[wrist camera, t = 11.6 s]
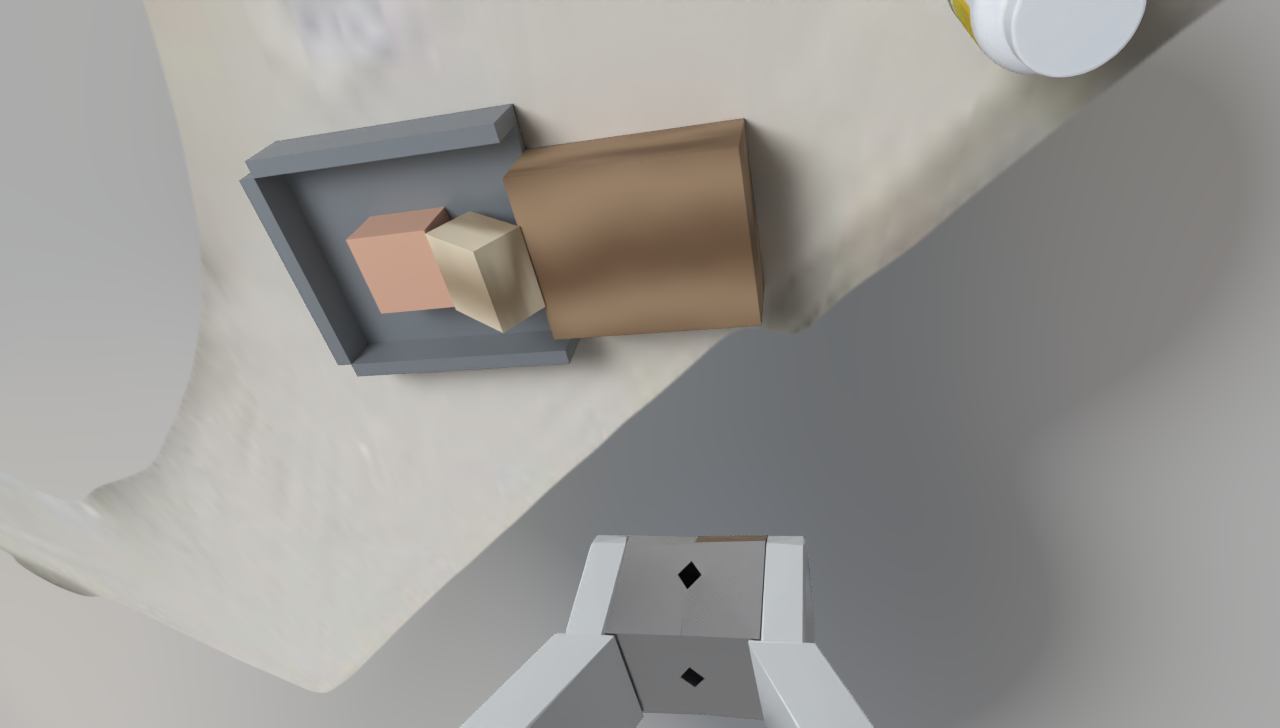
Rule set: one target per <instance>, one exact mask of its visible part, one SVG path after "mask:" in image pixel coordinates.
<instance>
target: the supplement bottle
mask: <svg viewBox="0 0 1280 728" xmlns="http://www.w3.org/2000/svg"><path fill="white" fill-rule="evenodd" d="M948 2H949V5H950V7H951V9H952V11H953V12H954V14H955V15H956V17H957V18H958V19H959V21H960V22H961V23H962V24H963V26H964V27H965V29H966V30H967V31H968V33H969V34H970V35H971V37H972V38H973V39H974V41H975V42H976V43H977V45H978V46H979V47H980V49H981V50H982V51H983V52H984V53H985V54H986V55H987V56H988V57H989V58H990V59H991V60H992V61H993V62H995V63H996V64H998V65H999V66H1001V67H1003V68H1005V69H1007V70H1010V71H1013V72H1016V73H1021V74H1041V75H1044V76H1048V77H1055V78H1064V77H1073V76H1077V75H1081V74H1084V73H1087V72H1089V71H1092V70H1094V69H1096V68H1098V67H1100V66H1101V65H1103V64H1105V63H1106V62H1107V61H1109V60H1110V59H1111V58H1113V57H1114V56H1115V55H1117V54H1118V53H1119V52H1120V51H1121V50H1122V49H1123V48H1124V47H1125V45H1126V44H1127V43H1128V42H1129V41H1130V39H1131V38H1132V36H1133V35H1134V33H1135V32H1136V30H1137V28H1138V26H1139V24H1140V22H1141V20H1142V17H1143V15H1144V11H1145V8H1146V2H1147V0H948Z"/></svg>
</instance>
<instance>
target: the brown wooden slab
mask: <svg viewBox="0 0 1280 728" xmlns="http://www.w3.org/2000/svg"><path fill="white" fill-rule="evenodd" d="M502 179H503V182H504V185H505V188H506V191H507V195H508V198H509V201H510V204H511V207H512V210H513V213H514V216H515V219H516V222H517V226H519V227H520V230H521V233H522V236H523V239H524V242H525V245H526V248H527V251H528V254H529V258H530V261H531V264H532V267H533V270H534V273H535V276H536V279H537V282H538V285H539V288H540V291H541V294H542V298H543V301H544V304H545V307H544V309H545V312H546V315H547V319H548V322H549V325H550V328H551V331H552V334H553V337H554V340H558V339H572V338H587V337H601V336H615V335H630V334H645V333H659V332H673V331H688V330H703V329H717V328H731V327H746V326H760V325H761V322H762V310H763V298H764V280H763V271H762V263H761V255H760V247H759V238H758V230H757V222H756V213H755V205H754V197H753V188H752V180H751V172H750V164H749V155H748V147H747V139H746V130H745V122H744V118H743V119H736V120H729V121H722V122H715V123H708V124H701V125H694V126H687V127H680V128H672V129H665V130H658V131H651V132H644V133H637V134H630V135H623V136H616V137H609V138H602V139H595V140H588V141H580V142H573V143H566V144H559V145H552V146H545V147H538V148H531V149H525V151H524V152H523V153H522V154H521V156H520V157H519V158H518V159H517V161H516V162H515V163H514V165H513V166H512V167H511V168H510V170H509V171H508V172H507V173H506V175H505V176H504V177H503V178H502Z"/></svg>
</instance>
